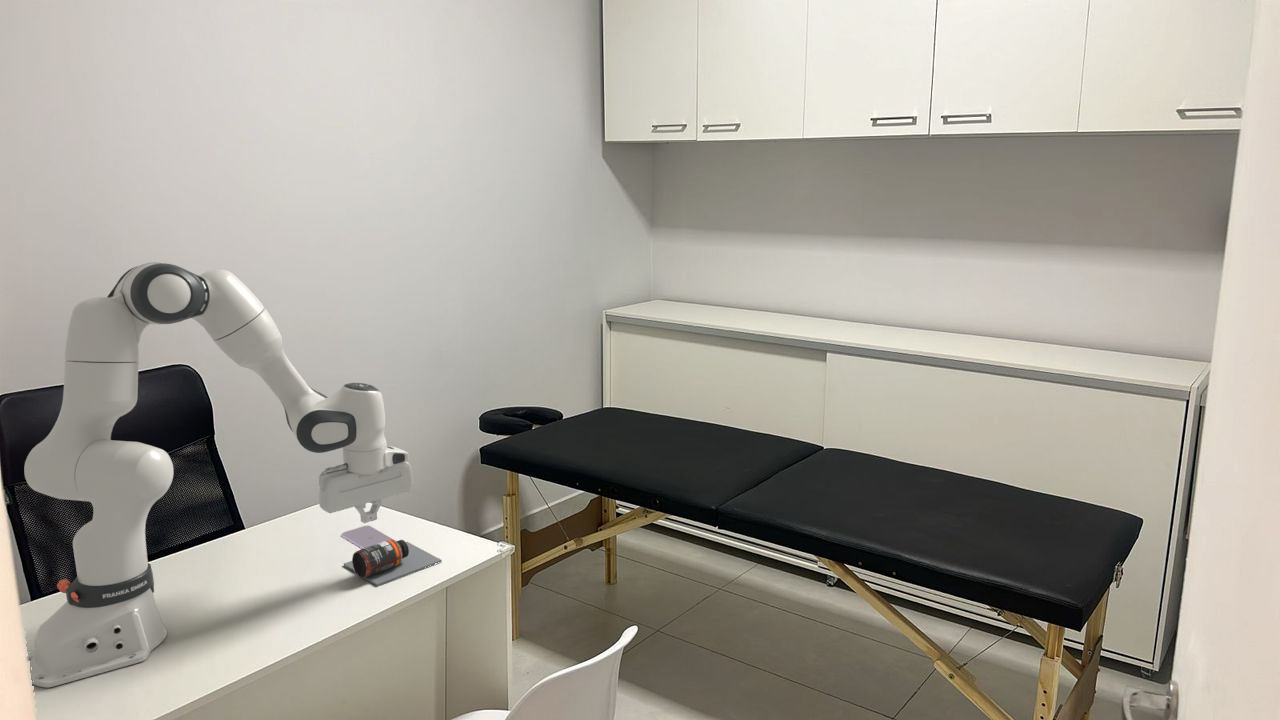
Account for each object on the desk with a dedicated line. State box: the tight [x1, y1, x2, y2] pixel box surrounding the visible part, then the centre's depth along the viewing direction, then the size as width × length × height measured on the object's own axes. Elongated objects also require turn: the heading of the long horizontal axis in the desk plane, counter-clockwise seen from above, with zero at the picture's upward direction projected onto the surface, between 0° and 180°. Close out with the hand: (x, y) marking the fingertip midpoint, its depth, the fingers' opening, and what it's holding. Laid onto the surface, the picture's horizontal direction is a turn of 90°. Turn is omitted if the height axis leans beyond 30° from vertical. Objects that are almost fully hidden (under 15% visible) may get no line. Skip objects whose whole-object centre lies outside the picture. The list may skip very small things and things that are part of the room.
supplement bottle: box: [351, 539, 409, 579], centre depth 191 cm, size 6×6×11 cm
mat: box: [343, 541, 443, 587], centre depth 195 cm, size 16×14×1 cm
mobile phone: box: [341, 525, 397, 550], centre depth 207 cm, size 8×1×15 cm
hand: (369, 520), depth 188 cm, fingers closed
